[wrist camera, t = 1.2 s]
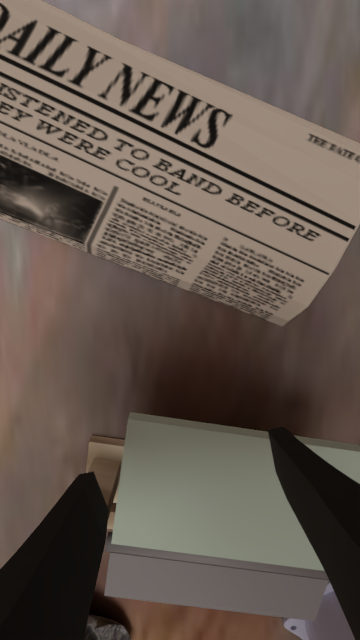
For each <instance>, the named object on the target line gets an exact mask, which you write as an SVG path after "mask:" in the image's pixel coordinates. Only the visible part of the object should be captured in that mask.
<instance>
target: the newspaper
mask: <svg viewBox="0 0 360 640" xmlns="http://www.w3.org/2000/svg"><path fill="white" fill-rule="evenodd" d="M0 219H1V220H4V221H6V222H9V223H12V224H14V225H17V226H20V227H22V228H25V229H27V230H30V231H33V232H35V233H38V234H41V235H43V236H46V237H48V238H51V239H54V240H56V241H59V242H62V243H64V244H67V245H69V246H72V247H75V248H77V249H80V250H83V251H85V252H88V253H90V254H93V255H96V256H98V257H101V258H104V259H106V260H109V261H111V262H114V263H117V264H119V265H122V266H125V267H127V268H130V269H132V270H135V271H138V272H140V273H143V274H146V275H148V276H151V277H153V278H156V279H159V280H161V281H164V282H167V283H169V284H172V285H174V286H177V287H180V288H182V289H185V290H188V291H190V292H193V293H196V294H198V295H201V296H203V297H206V298H209V299H211V300H214V301H217V302H219V303H222V304H224V305H227V306H230V307H232V308H235V309H238V310H240V311H243V312H245V313H248V314H251V315H253V316H256V317H259V318H261V319H264V320H266V321H269V322H272V323H274V324H277V325H280V326H284V325H285V324H286V323H287V322H289V321H290V320H291V319H292V318H294V317H295V316H296V315H298V314H299V313H300V312H302V311H303V310H304V309H306V308H307V307H308V306H309V305H310V303H311V302H312V301H313V299H314V298H315V296H316V295H317V294H318V292H319V291H320V289H321V288H322V287H323V285H324V284H325V282H326V281H327V280H328V278H329V277H330V275H331V274H332V273H333V271H334V270H335V268H336V266H337V265H338V263H339V261H340V259H341V257H342V255H343V254H344V252H345V250H346V248H347V246H348V244H349V243H350V241H351V239H352V237H353V235H354V233H355V232H356V230H357V228H358V226H359V224H360V143H357V142H355V141H353V140H351V139H348V138H346V137H344V136H341V135H339V134H337V133H334V132H332V131H330V130H327V129H325V128H323V127H321V126H318V125H316V124H314V123H311V122H309V121H307V120H304V119H302V118H300V117H297V116H295V115H293V114H291V113H288V112H286V111H284V110H281V109H279V108H277V107H274V106H272V105H270V104H267V103H265V102H263V101H261V100H258V99H256V98H254V97H251V96H249V95H247V94H244V93H242V92H240V91H237V90H235V89H233V88H231V87H228V86H226V85H224V84H221V83H219V82H217V81H214V80H212V79H210V78H207V77H205V76H203V75H201V74H198V73H196V72H194V71H191V70H189V69H187V68H184V67H182V66H180V65H177V64H175V63H173V62H171V61H168V60H166V59H164V58H161V57H159V56H157V55H154V54H152V53H150V52H147V51H145V50H143V49H141V48H138V47H136V46H134V45H131V44H129V43H127V42H124V41H122V40H120V39H118V38H116V37H114V36H112V35H110V34H108V33H106V32H104V31H102V30H100V29H98V28H96V27H94V26H92V25H90V24H88V23H86V22H84V21H82V20H80V19H78V18H76V17H74V16H72V15H70V14H68V13H66V12H64V11H62V10H60V9H58V8H56V7H54V6H52V5H50V4H48V3H46V2H44V1H42V0H0Z"/></svg>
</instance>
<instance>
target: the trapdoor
mask: <svg viewBox="0 0 360 640" xmlns="http://www.w3.org/2000/svg"><path fill="white" fill-rule="evenodd" d="M295 437H296V438H297V439H298V440H300V441H301V442H302V443H303V444H305V445H306V446H307V447H308V448H309V449H311V450H312V451H313V452H315V453H316V454H317V455H319V456H320V457H321V458H323V459H324V460H325V461H327V462H328V463H329V464H331V465H332V466H334V467H335V468H336V469H338V470H339V471H341V472H342V473H344V474H345V475H347V476H348V477H350V478H351V479H353V480H354V481H356V482H357V483H359V484H360V445H357V444H350V443H343V442H336V441H329V440H322V439H315V438H308V437H301V436H295ZM105 551H108V552H110V557H109V564H108V572H107V579H106V587H105V594H104V596H111V597H119V598H127V599H135V600H144V601H152V602H160V603H168V604H177V605H185V606H193V607H201V608H210V609H218V610H226V611H234V612H243V613H251V614H259V615H267V616H275V617H284V618H292V619H300V620H308V621H315V620H316V617H317V614H318V611H319V608H320V604H321V601H322V598H323V595H324V592H325V589H326V586H327V583H328V577H327V575H326V572H325V570H324V568H323V566H322V564H321V562H320V560H319V559H318V557H317V555H316V553H315V551H314V549H313V547H312V545H311V544H310V542H309V540H308V538H307V536H306V534H305V532H304V530H303V529H302V527H301V525H300V523H299V521H298V519H297V517H296V515H295V514H294V512H293V510H292V508H291V506H290V504H289V502H288V500H287V498H286V496H285V494H284V491H283V489H282V486H281V484H280V481H279V479H278V476H277V474H276V471H275V466H274V461H273V455H272V450H271V445H270V439H269V434H268V432H266V431H259V430H252V429H245V428H238V427H231V426H224V425H217V424H210V423H203V422H196V421H189V420H183V419H176V418H169V417H162V416H155V415H148V414H141V413H134V412H130V414H129V417H128V422H127V429H126V437H125V444H124V452H123V459H122V467H121V474H120V482H119V489H118V496H117V504H116V511H115V519H114V526H113V532H108V536H107V540H106V545H105Z"/></svg>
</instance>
